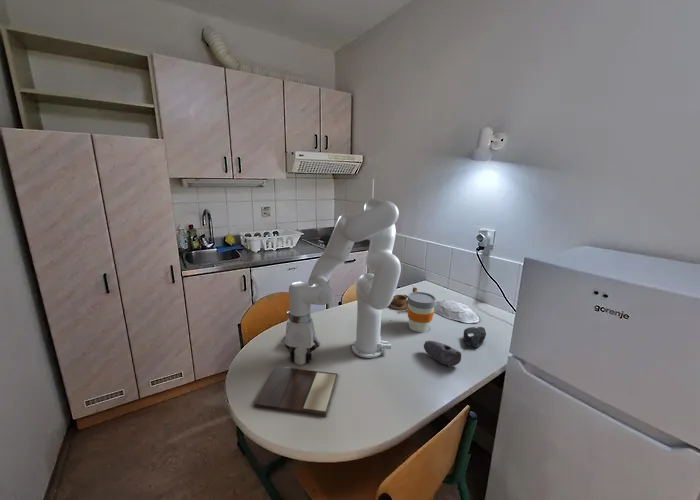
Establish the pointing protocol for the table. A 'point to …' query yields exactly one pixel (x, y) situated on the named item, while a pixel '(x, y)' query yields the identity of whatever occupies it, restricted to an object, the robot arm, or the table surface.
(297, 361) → the white short cylinder
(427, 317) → the reusable coffee cup
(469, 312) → the white rough oval lump
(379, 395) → the table surface
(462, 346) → the table surface
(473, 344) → the mineral
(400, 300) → the place setting
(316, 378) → the board
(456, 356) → the perforated stone tool
